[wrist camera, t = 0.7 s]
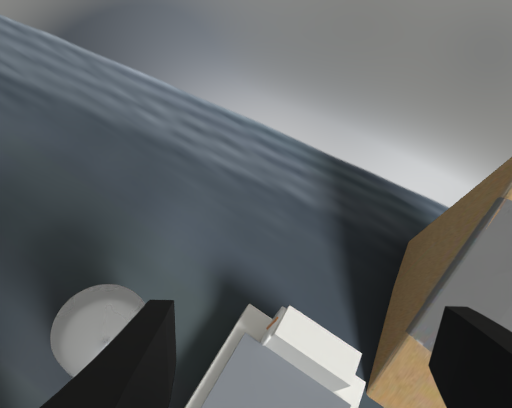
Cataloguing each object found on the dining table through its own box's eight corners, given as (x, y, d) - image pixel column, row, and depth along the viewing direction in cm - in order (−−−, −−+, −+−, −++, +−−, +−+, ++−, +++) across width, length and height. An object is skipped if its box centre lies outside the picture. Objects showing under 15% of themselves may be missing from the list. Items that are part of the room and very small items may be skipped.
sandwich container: (360, 395, 25) (564, 337, 13) (405, 238, 34) (548, 122, 22) (472, 468, 24) (799, 478, 12) (487, 287, 33) (680, 194, 21)
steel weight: (112, 412, 20) (105, 399, 16) (52, 367, 21) (27, 340, 16) (161, 345, 23) (168, 316, 18) (107, 306, 23) (100, 268, 19)
